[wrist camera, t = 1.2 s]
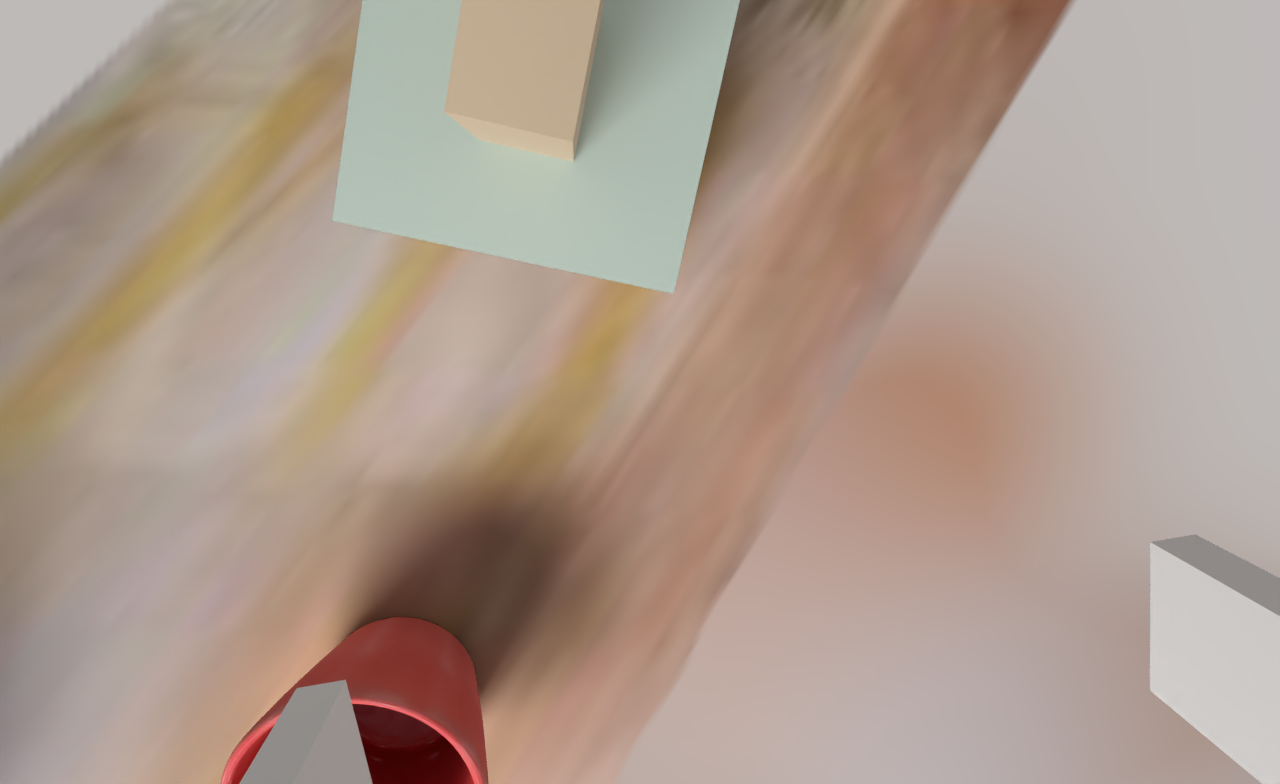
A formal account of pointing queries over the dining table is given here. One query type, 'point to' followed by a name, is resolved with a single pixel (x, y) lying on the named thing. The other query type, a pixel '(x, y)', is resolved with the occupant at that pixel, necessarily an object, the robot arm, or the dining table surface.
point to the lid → (536, 128)
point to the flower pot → (398, 705)
